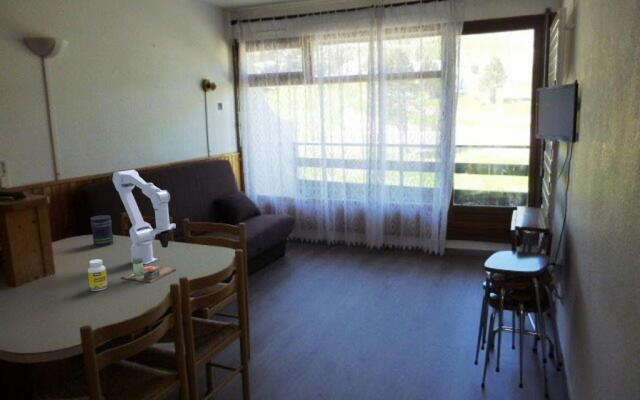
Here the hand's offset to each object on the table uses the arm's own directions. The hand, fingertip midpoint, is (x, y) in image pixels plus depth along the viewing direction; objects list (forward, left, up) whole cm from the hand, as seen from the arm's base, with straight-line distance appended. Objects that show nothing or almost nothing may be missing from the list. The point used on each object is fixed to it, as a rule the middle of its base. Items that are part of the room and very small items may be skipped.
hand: (164, 247), depth 211 cm
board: (-1, -10, -9) cm, 14 cm away
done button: (+4, -14, -7) cm, 16 cm away
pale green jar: (-3, -14, -9) cm, 17 cm away
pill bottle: (-9, -30, -10) cm, 33 cm away
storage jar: (-57, +18, -10) cm, 61 cm away
